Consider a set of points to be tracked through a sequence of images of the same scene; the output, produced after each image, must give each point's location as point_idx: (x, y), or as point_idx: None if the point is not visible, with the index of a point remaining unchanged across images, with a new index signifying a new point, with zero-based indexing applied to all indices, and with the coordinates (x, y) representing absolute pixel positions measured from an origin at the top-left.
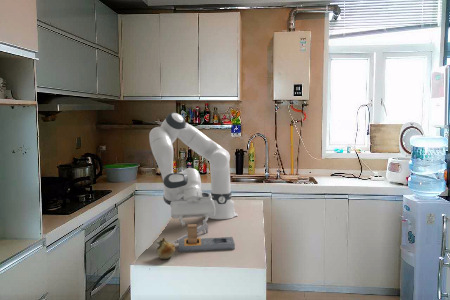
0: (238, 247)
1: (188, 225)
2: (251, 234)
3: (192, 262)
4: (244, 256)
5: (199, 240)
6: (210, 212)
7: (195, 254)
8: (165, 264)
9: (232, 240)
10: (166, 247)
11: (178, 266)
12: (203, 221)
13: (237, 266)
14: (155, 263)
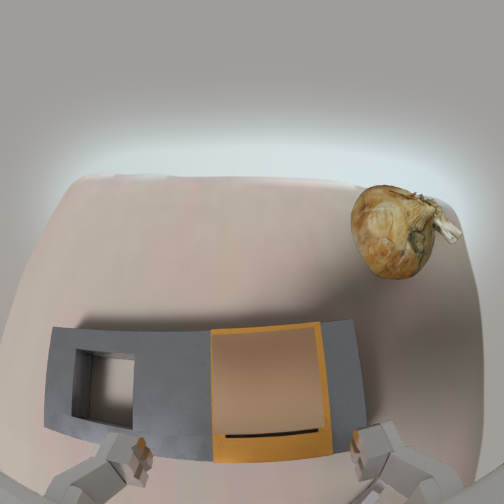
0: None
1: (310, 384)
2: None
3: (260, 205)
4: (68, 252)
5: None
6: (11, 480)
7: (250, 290)
8: None
9: (50, 371)
10: (384, 185)
11: (309, 179)
12: (129, 447)
13: (119, 181)
14: None
